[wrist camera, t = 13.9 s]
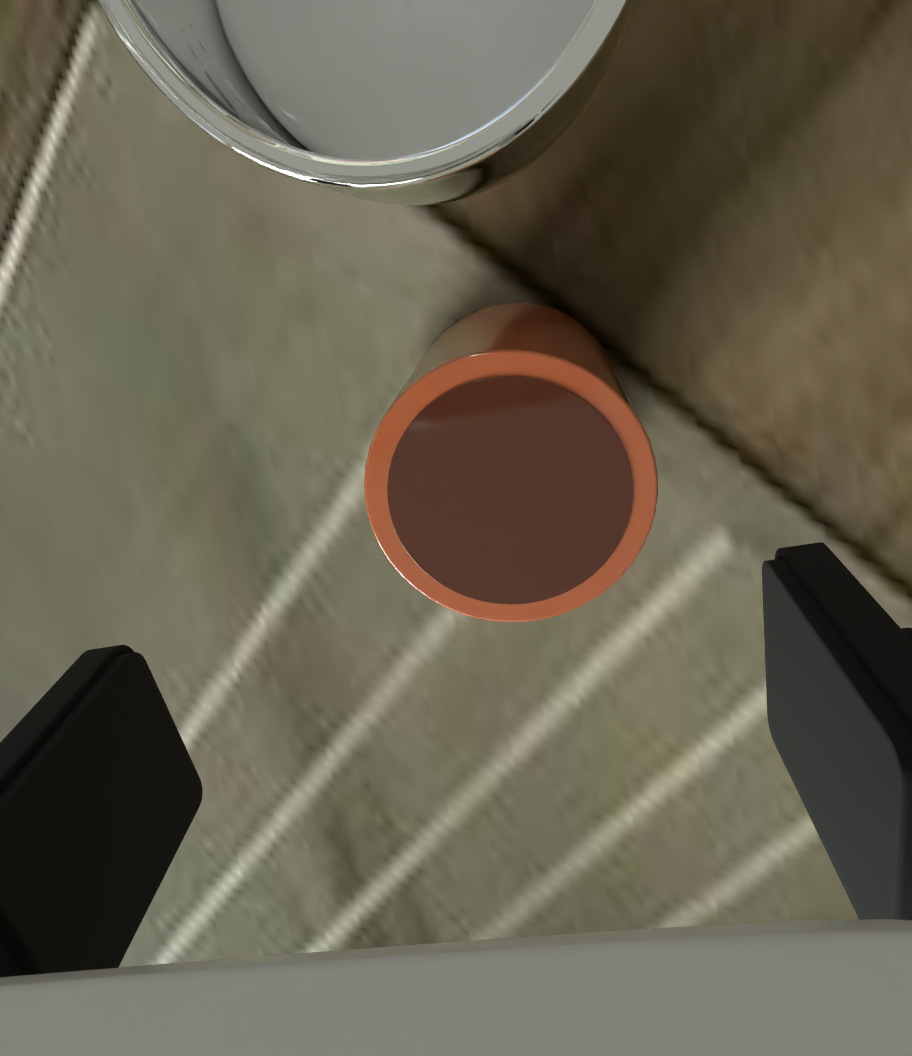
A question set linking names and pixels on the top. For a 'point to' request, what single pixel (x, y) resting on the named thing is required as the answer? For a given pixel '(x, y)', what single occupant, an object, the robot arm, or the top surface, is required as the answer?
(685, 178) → the top surface
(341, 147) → the beer glass
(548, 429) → the terracotta cup
